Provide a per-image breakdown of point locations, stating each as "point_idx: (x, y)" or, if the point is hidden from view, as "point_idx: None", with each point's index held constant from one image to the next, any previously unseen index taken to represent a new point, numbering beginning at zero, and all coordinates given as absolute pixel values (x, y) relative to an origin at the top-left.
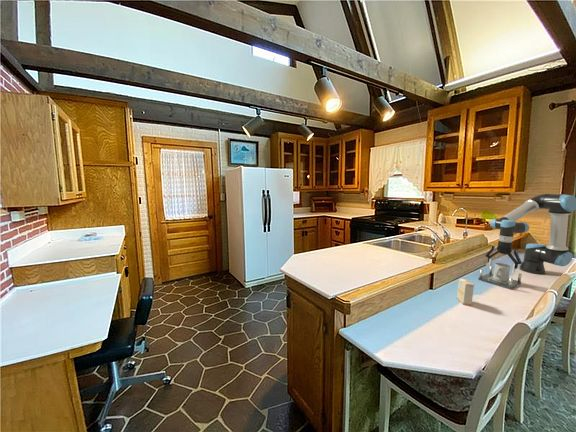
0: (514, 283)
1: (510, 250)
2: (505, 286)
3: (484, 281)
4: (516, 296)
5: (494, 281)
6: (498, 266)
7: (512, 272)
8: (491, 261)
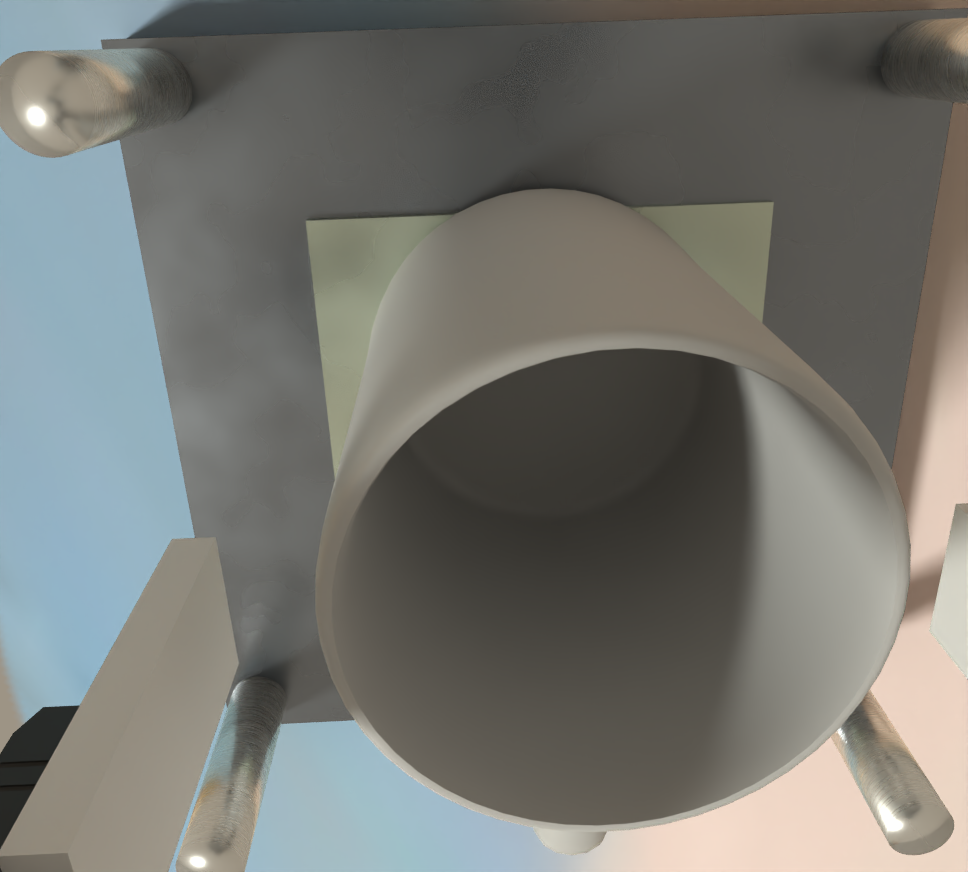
0: (855, 361)
1: None
2: None
3: None
4: (955, 868)
5: None
6: (538, 795)
7: (950, 640)
8: (153, 756)
